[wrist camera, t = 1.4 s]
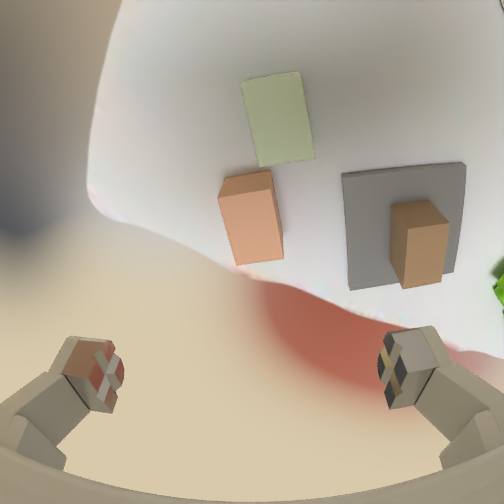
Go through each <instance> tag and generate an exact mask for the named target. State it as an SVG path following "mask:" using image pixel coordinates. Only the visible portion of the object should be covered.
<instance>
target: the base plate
mask: <svg viewBox="0 0 504 504" xmlns="http://www.w3.org/2000/svg"><path fill="white" fill-rule="evenodd" d="M341 176H342V185H343V196H344V208H345V221H346V236H347V254H348V278H349V288H350V291H351V290H358V289H364V288H370V287H376V286H382V285H388V284H394V283H400V284H401V286H402V289H407V288H413V287H418V286H423V285H428V284H433V283H438V282H441V279H442V274H447V273H452V272H453V271H454V266H455V260H456V255H457V249H458V243H459V236H460V230H461V222H462V214H463V205H464V194H465V182H466V165H465V164H463V163H448V164H435V165H423V166H412V167H401V168H392V169H382V170H373V171H365V172H357V173H349V174H341Z"/></svg>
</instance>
